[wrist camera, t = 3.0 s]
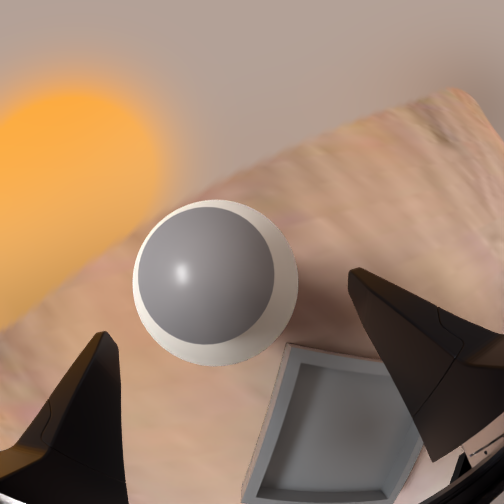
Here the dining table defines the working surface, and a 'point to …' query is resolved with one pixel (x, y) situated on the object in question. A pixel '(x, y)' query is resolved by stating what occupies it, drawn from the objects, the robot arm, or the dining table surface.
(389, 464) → the dish
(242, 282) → the bottle
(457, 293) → the dining table surface
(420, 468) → the dining table surface
